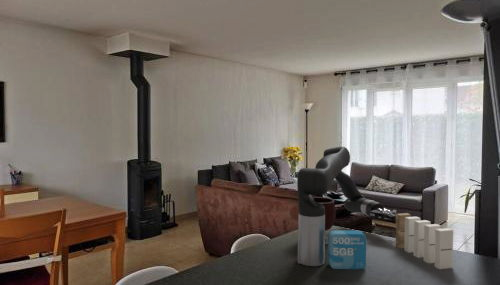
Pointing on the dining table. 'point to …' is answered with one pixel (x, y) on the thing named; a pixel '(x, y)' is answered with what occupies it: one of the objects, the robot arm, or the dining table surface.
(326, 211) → the mate gourd
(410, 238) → the tile
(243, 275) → the dining table surface
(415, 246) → the tile
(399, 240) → the tile
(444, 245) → the end tile
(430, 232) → the white domino block
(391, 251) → the dining table surface
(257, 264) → the dining table surface
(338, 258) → the data package
